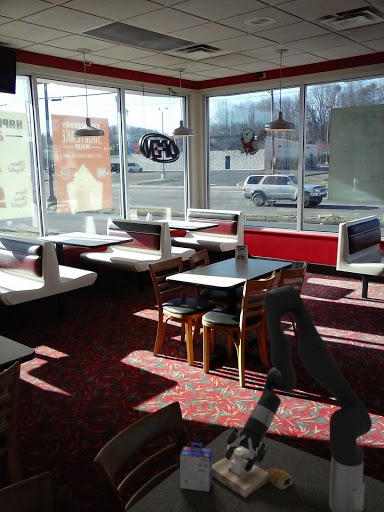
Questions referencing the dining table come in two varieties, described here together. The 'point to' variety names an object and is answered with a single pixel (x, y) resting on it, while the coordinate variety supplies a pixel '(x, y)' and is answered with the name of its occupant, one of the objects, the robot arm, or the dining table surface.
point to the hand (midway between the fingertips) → (236, 464)
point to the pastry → (279, 478)
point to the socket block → (239, 484)
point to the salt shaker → (238, 463)
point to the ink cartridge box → (196, 468)
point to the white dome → (246, 451)
